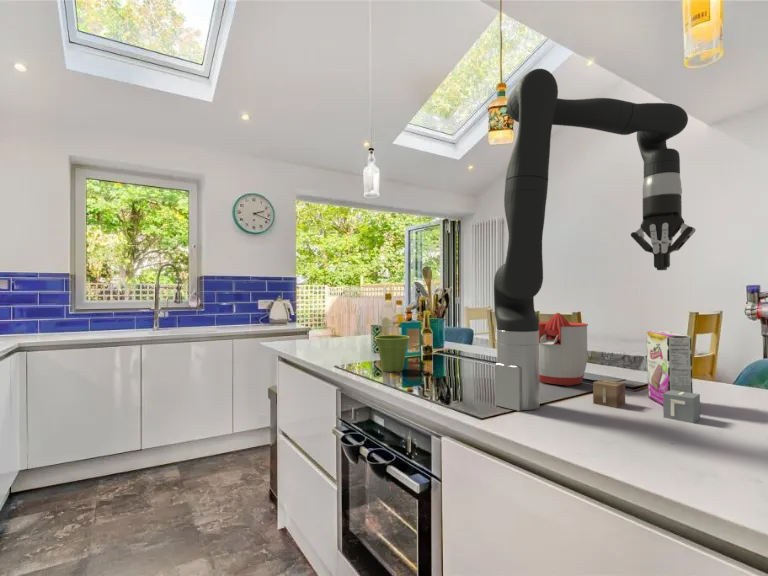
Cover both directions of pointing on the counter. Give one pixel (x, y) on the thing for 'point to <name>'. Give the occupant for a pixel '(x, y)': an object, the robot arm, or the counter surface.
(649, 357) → the candy bar box
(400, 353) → the plant pot
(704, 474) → the counter surface
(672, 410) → the slate digit cube
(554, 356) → the citrus juicer
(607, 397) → the walnut digit cube
